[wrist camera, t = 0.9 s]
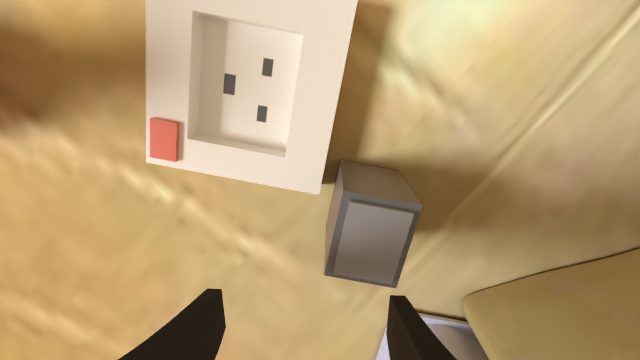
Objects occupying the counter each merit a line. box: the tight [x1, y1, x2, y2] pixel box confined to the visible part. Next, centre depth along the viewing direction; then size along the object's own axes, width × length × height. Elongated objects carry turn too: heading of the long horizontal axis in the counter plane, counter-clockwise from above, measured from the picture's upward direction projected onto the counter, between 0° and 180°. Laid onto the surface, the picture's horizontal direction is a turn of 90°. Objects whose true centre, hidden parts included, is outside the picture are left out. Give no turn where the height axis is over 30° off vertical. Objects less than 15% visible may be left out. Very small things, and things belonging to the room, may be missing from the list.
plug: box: [324, 160, 423, 288], centre depth 18 cm, size 4×5×6 cm
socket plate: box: [146, 0, 358, 195], centre depth 18 cm, size 11×11×2 cm
